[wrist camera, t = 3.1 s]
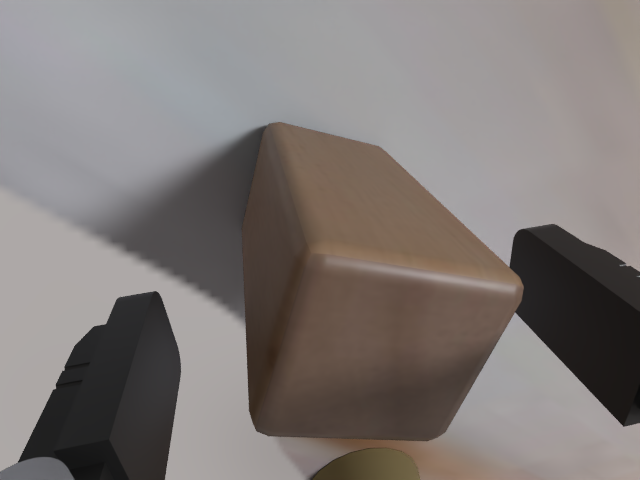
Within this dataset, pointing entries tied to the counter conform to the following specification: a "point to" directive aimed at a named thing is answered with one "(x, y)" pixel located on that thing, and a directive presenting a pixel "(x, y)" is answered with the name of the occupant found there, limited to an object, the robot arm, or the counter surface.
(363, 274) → the wooden block
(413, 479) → the olive pawn
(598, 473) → the counter surface
